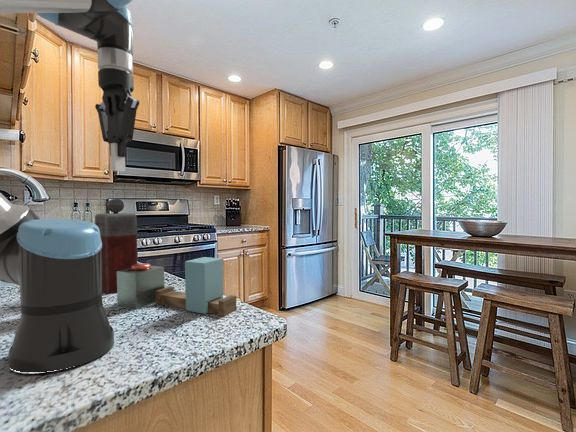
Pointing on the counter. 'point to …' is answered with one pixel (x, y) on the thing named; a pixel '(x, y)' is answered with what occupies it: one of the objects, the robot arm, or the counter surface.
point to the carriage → (203, 283)
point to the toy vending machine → (116, 243)
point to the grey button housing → (139, 286)
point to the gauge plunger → (140, 267)
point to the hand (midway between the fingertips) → (118, 170)
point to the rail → (179, 300)
